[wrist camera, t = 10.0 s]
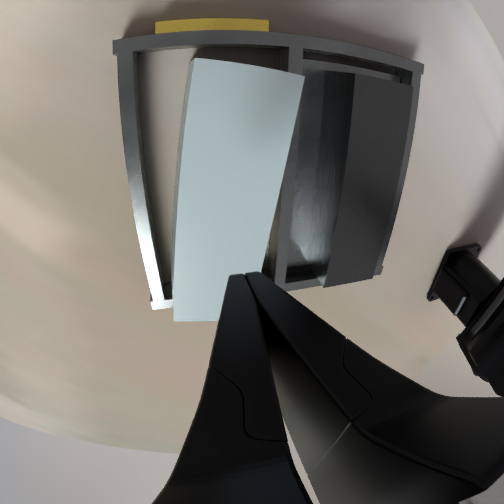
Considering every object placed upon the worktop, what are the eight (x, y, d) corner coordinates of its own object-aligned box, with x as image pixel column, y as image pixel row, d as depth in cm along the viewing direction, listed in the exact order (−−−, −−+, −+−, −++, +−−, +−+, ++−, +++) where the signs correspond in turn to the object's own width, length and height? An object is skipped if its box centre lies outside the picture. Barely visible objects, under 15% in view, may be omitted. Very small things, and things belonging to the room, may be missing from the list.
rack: (407, 53, 14) (448, 58, 11) (370, 262, 23) (394, 290, 20) (119, 32, 10) (102, 21, 7) (152, 293, 19) (152, 333, 16)
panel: (266, 73, 13) (304, 76, 9) (232, 264, 20) (249, 319, 16) (189, 63, 12) (195, 57, 8) (171, 263, 19) (173, 321, 15)
